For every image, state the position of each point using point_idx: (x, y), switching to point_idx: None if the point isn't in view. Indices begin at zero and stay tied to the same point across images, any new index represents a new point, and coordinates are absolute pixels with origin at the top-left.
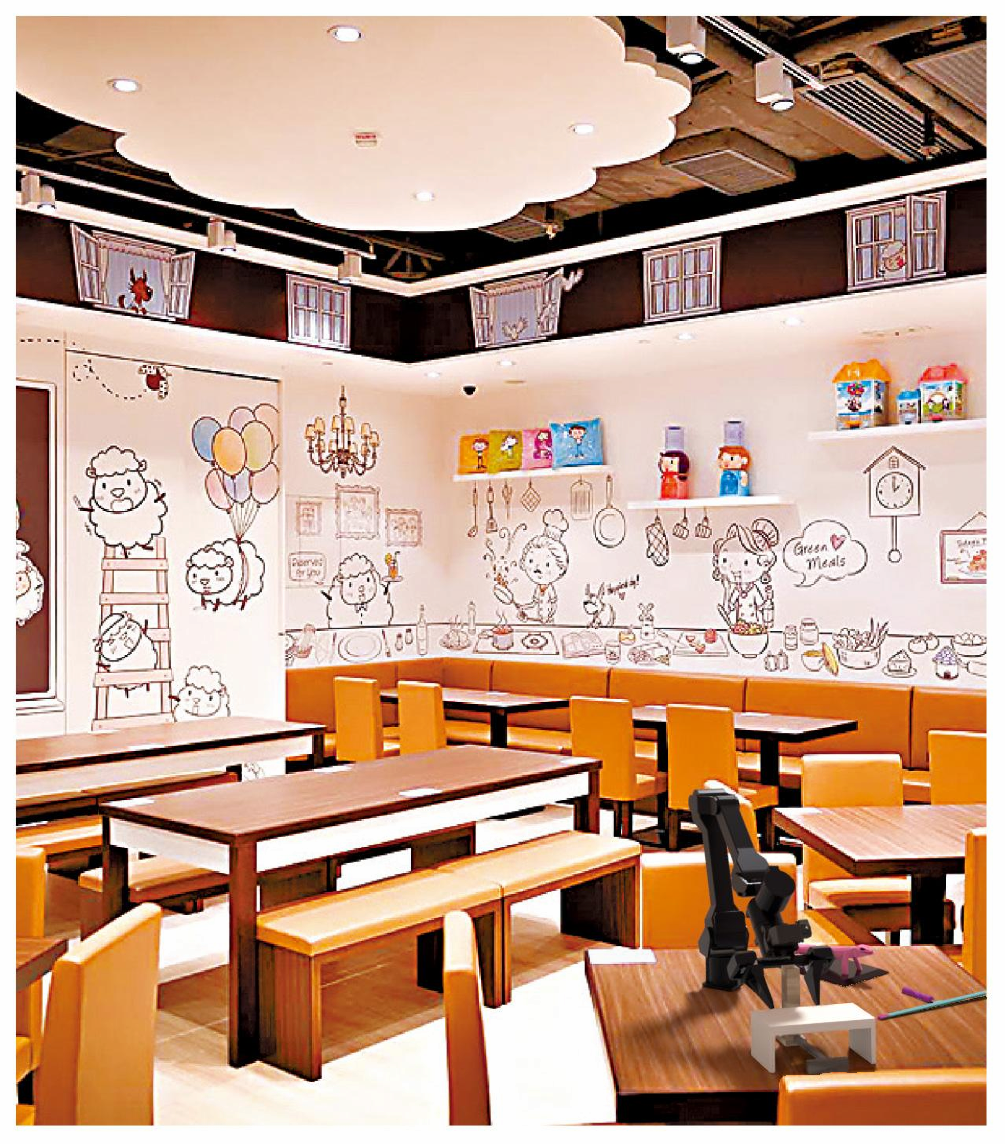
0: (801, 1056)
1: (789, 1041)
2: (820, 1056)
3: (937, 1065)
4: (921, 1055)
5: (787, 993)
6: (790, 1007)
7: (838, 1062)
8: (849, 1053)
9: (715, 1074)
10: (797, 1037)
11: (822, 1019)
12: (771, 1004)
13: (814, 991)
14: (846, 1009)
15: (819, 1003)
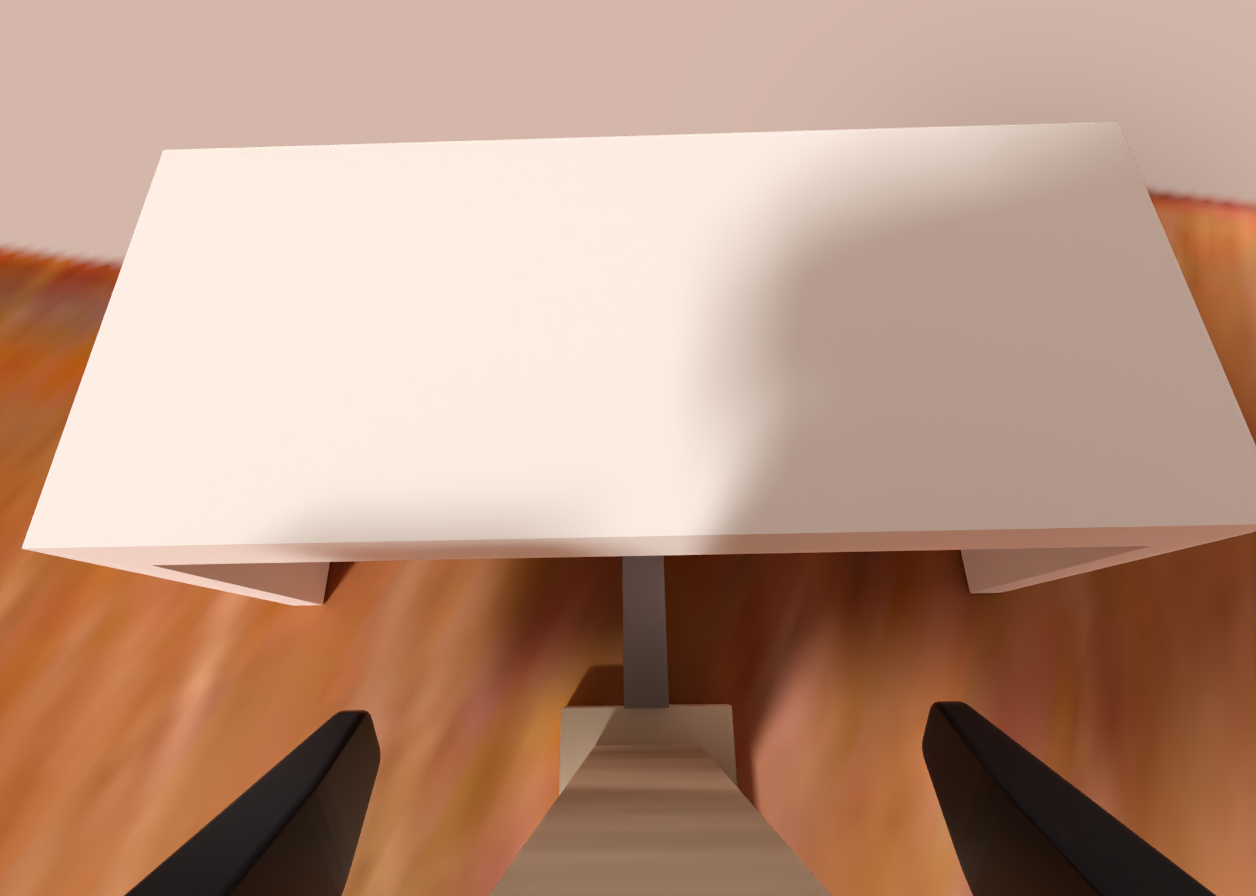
0: None
1: (698, 707)
2: None
3: (72, 282)
4: (31, 406)
5: (759, 820)
6: (693, 780)
7: None
8: None
9: (1246, 365)
10: (656, 655)
11: (607, 187)
12: (987, 721)
13: (269, 876)
14: (236, 373)
15: (344, 714)
